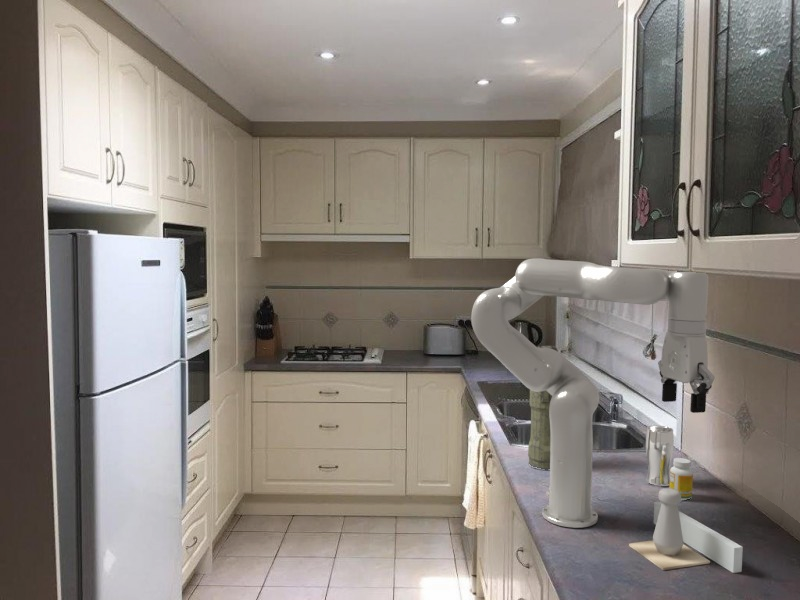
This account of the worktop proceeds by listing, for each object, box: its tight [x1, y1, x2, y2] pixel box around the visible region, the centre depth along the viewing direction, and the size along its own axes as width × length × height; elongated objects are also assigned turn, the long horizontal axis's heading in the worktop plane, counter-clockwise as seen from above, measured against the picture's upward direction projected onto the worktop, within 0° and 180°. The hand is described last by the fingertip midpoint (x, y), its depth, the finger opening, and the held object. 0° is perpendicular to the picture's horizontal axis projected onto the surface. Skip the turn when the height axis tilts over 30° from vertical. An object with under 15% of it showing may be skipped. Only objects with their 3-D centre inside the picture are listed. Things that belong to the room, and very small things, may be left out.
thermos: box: [527, 344, 559, 469], centre depth 188 cm, size 9×12×35 cm
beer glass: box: [645, 424, 675, 485], centre depth 175 cm, size 7×7×15 cm
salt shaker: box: [652, 487, 684, 556], centre depth 134 cm, size 6×6×13 cm
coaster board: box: [628, 539, 711, 571], centre depth 135 cm, size 11×11×1 cm
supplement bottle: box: [668, 457, 694, 500], centre depth 166 cm, size 5×5×10 cm
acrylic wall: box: [653, 500, 744, 574], centre depth 138 cm, size 24×2×5 cm, turn 16°
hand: (682, 406), depth 141 cm, fingers open, 9 cm apart
